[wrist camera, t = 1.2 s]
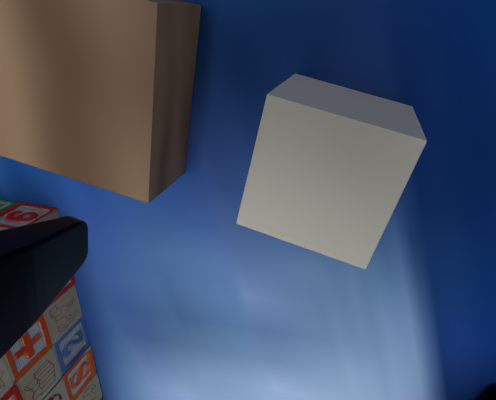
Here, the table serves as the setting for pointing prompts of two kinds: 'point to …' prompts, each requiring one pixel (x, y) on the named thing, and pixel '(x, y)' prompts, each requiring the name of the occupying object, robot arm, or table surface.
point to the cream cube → (329, 167)
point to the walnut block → (99, 89)
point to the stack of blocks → (48, 337)
